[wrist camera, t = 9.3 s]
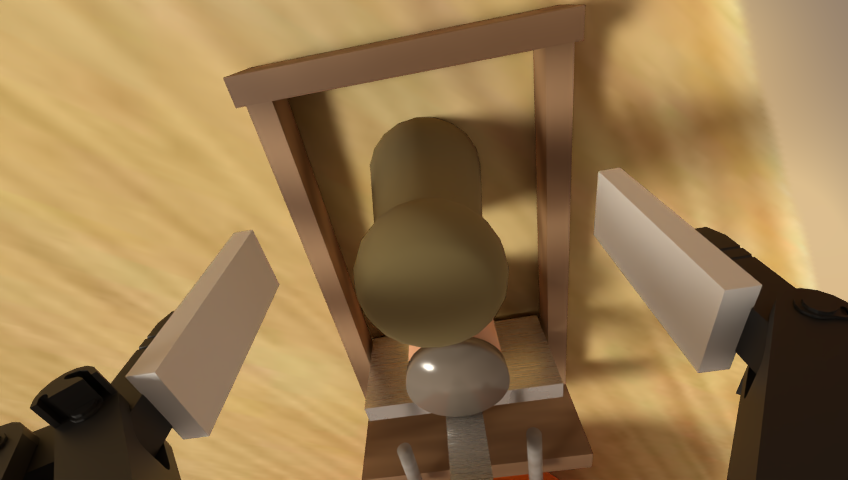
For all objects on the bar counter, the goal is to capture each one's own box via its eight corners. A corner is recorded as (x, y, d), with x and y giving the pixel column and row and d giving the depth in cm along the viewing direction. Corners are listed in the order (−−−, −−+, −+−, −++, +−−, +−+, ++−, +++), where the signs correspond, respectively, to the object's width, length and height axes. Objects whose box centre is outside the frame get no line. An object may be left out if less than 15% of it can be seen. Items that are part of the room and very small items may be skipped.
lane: (250, 67, 18) (141, 108, 11) (559, 5, 17) (665, 4, 10) (376, 398, 31) (365, 516, 24) (556, 374, 30) (600, 491, 23)
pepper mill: (501, 149, 20) (575, 272, 11) (447, 236, 23) (468, 394, 14) (398, 95, 19) (380, 184, 9) (353, 195, 22) (304, 341, 12)
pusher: (373, 338, 27) (321, 754, 12) (536, 315, 26) (699, 732, 11) (377, 350, 27) (332, 759, 13) (537, 327, 27) (691, 738, 12)
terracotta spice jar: (401, 266, 24) (396, 356, 18) (482, 253, 24) (506, 341, 18) (416, 325, 27) (416, 422, 21) (489, 315, 26) (512, 410, 20)
